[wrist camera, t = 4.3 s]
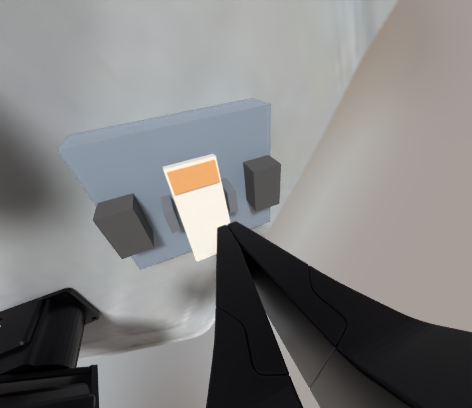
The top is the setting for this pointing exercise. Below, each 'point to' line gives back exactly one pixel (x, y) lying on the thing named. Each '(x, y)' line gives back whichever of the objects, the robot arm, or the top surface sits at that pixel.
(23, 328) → the robot arm
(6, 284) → the top surface
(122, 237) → the plug left
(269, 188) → the plug right
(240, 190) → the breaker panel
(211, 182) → the breaker paddle
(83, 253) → the top surface
